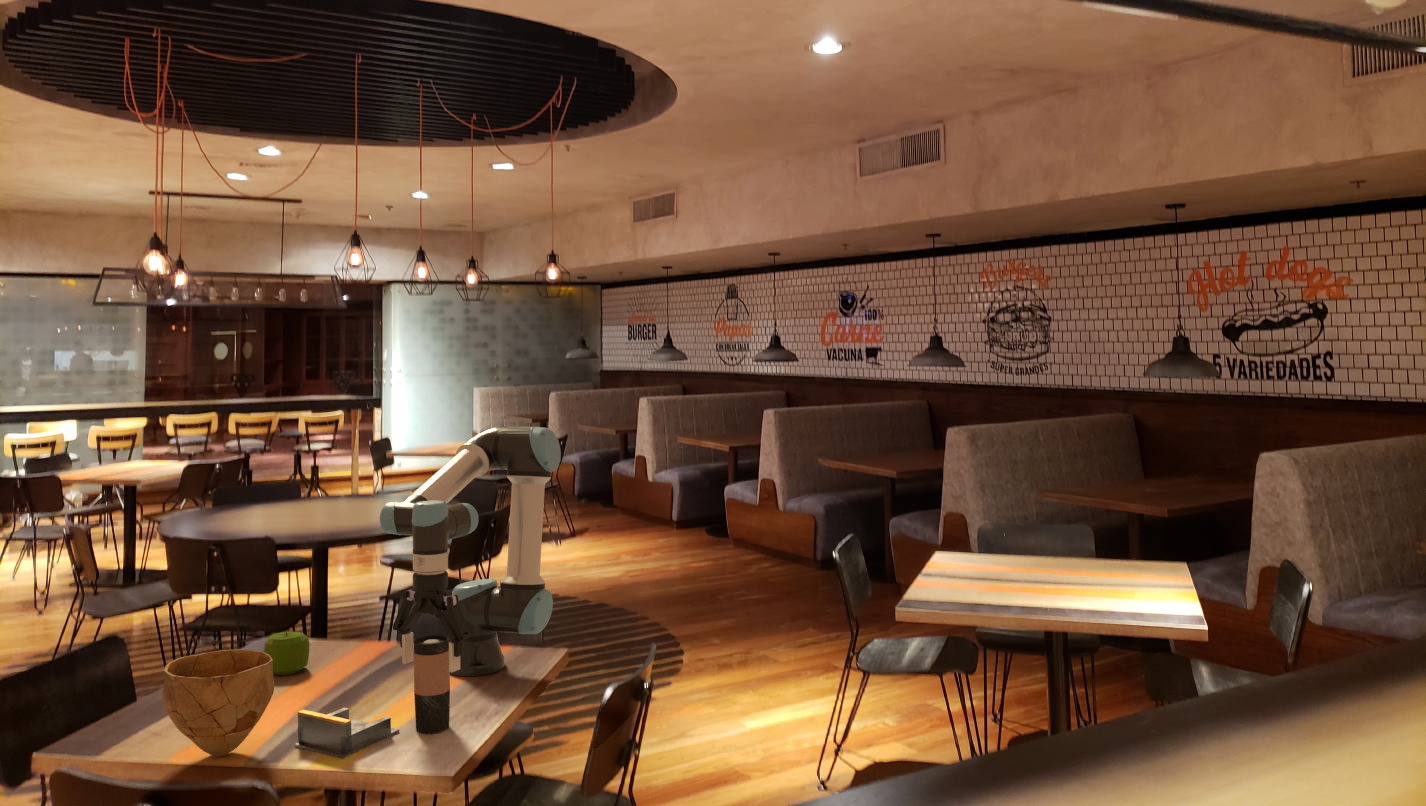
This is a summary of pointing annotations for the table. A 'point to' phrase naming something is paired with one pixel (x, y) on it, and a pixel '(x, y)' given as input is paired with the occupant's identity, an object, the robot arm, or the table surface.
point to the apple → (287, 652)
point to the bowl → (218, 696)
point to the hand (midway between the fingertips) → (431, 666)
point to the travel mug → (431, 684)
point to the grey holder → (339, 732)
